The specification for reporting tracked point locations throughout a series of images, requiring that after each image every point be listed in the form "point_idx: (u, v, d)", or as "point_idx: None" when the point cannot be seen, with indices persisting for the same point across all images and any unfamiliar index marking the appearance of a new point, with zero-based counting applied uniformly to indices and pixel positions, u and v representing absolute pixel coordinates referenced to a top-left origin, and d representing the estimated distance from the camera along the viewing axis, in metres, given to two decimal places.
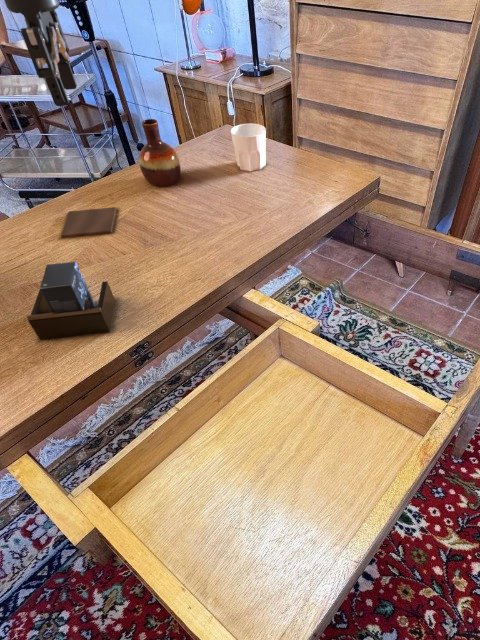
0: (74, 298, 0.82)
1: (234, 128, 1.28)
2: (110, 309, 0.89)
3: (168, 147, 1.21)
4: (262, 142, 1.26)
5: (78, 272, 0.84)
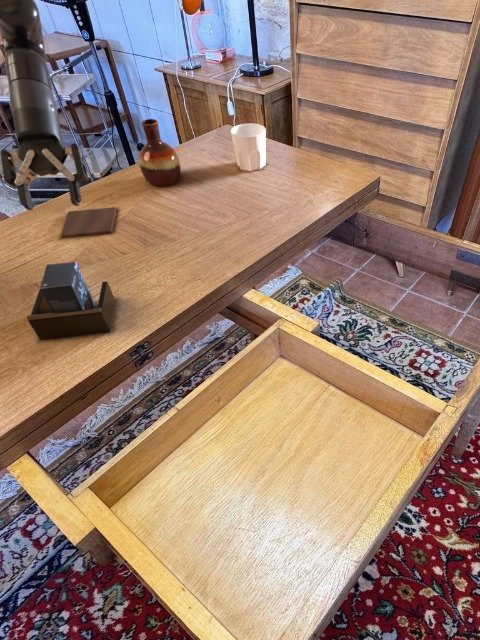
0: (74, 298, 0.82)
1: (234, 128, 1.28)
2: (110, 309, 0.89)
3: (168, 147, 1.21)
4: (262, 142, 1.26)
5: (78, 272, 0.84)
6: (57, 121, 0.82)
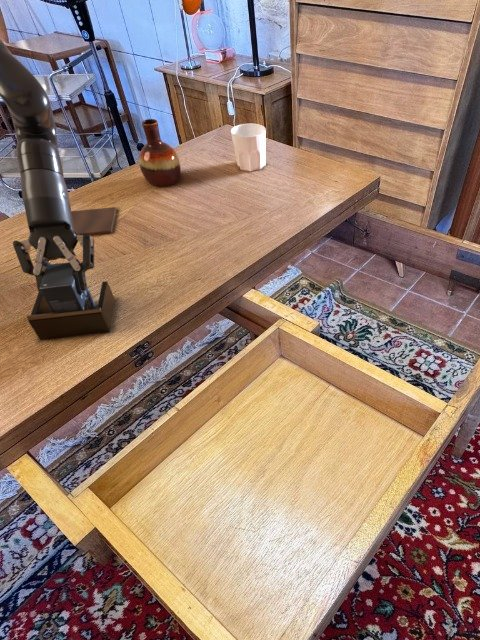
0: (74, 298, 0.82)
1: (234, 128, 1.28)
2: (110, 309, 0.89)
3: (168, 147, 1.21)
4: (262, 142, 1.26)
5: None
6: (68, 207, 0.81)
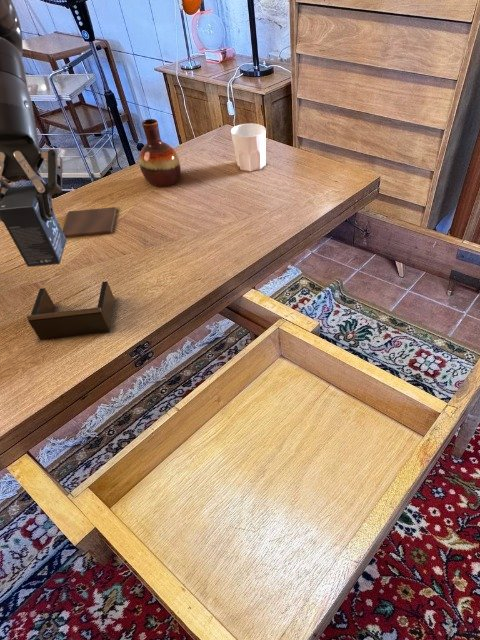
0: (38, 224, 0.72)
1: (234, 128, 1.28)
2: (110, 309, 0.89)
3: (168, 147, 1.21)
4: (262, 142, 1.26)
5: None
6: (32, 119, 0.71)
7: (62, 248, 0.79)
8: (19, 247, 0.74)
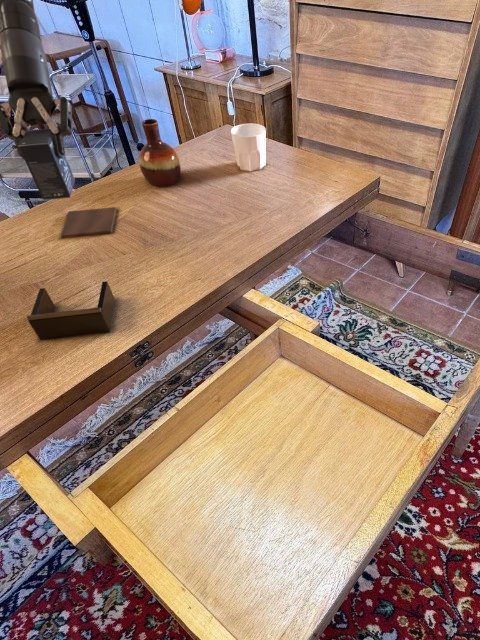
0: (52, 159, 0.85)
1: (234, 128, 1.28)
2: (110, 309, 0.89)
3: (168, 147, 1.21)
4: (262, 142, 1.26)
5: None
6: (46, 71, 0.85)
7: (72, 185, 0.93)
8: (36, 181, 0.88)
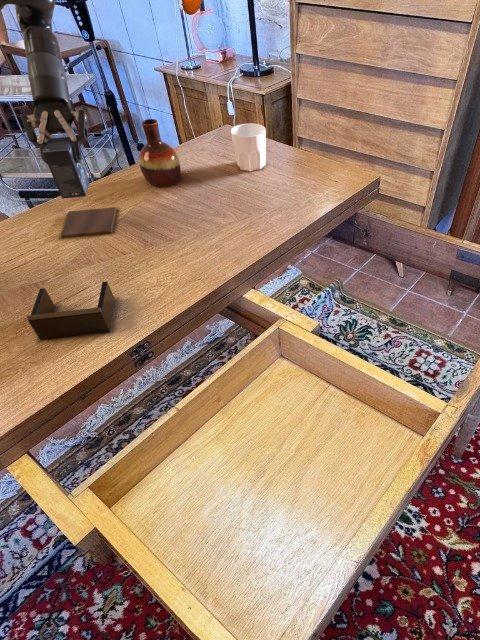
0: (71, 163, 0.99)
1: (234, 128, 1.28)
2: (110, 309, 0.89)
3: (168, 147, 1.21)
4: (262, 142, 1.26)
5: None
6: (66, 88, 0.98)
7: (87, 186, 1.06)
8: (57, 182, 1.01)
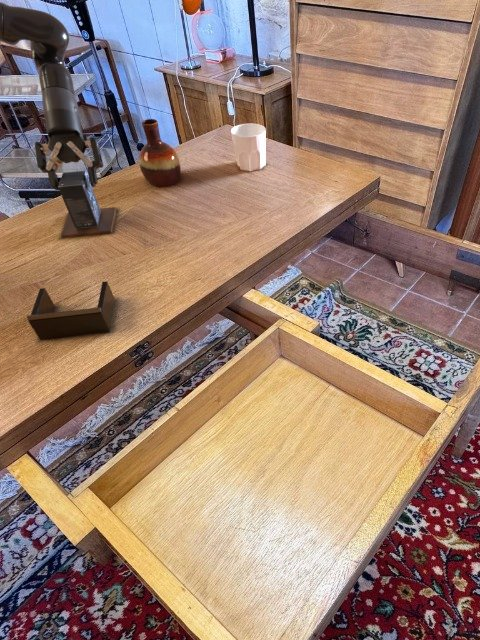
0: (85, 197, 1.05)
1: (234, 128, 1.28)
2: (110, 309, 0.89)
3: (168, 147, 1.21)
4: (262, 142, 1.26)
5: (87, 179, 1.07)
6: (79, 120, 1.04)
7: (98, 216, 1.12)
8: (71, 214, 1.07)
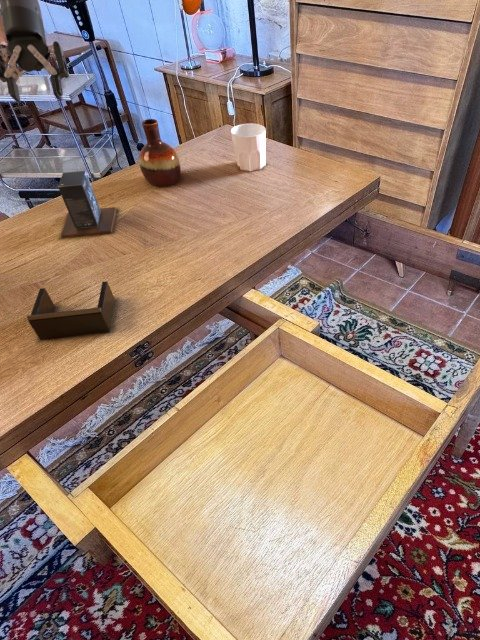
0: (85, 197, 1.05)
1: (234, 128, 1.28)
2: (110, 309, 0.89)
3: (168, 147, 1.21)
4: (262, 142, 1.26)
5: (87, 179, 1.07)
6: (41, 22, 0.94)
7: (98, 216, 1.12)
8: (71, 214, 1.07)
